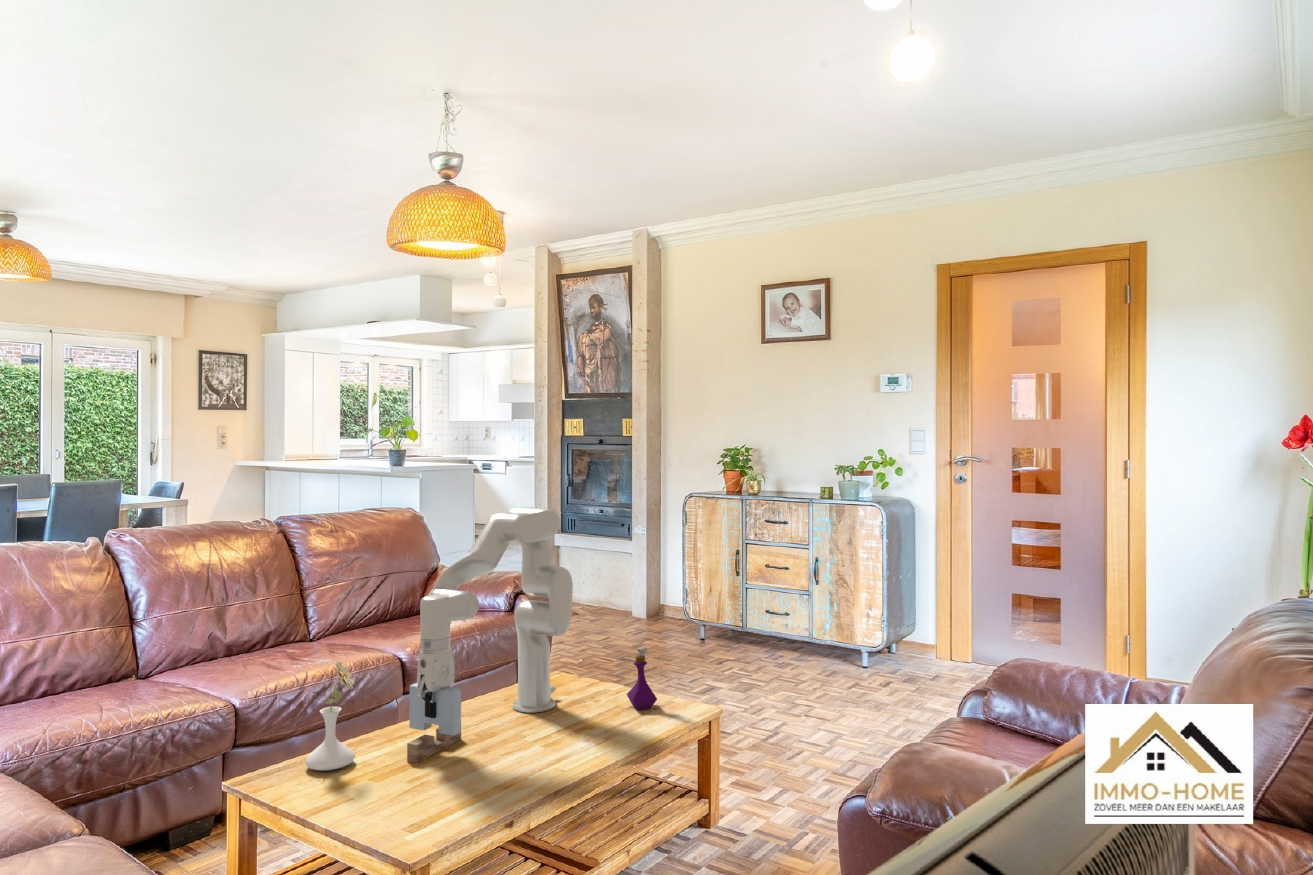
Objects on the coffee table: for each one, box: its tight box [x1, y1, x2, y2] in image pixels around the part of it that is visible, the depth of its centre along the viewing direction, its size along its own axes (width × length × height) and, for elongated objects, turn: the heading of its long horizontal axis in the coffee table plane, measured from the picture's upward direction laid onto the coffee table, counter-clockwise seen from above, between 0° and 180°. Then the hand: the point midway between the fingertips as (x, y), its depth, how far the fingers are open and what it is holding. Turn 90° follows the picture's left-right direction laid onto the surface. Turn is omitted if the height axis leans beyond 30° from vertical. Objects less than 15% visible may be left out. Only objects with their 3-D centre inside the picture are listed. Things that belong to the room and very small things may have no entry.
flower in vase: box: [304, 660, 356, 771], centre depth 206 cm, size 13×11×25 cm
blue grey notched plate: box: [409, 682, 462, 736], centre depth 216 cm, size 3×14×11 cm, turn 67°
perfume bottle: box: [626, 647, 658, 711], centre depth 250 cm, size 8×8×18 cm
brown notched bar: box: [406, 727, 462, 764], centre depth 216 cm, size 18×3×4 cm, turn 157°
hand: (435, 714), depth 216 cm, fingers closed on blue grey notched plate, 3 cm apart
